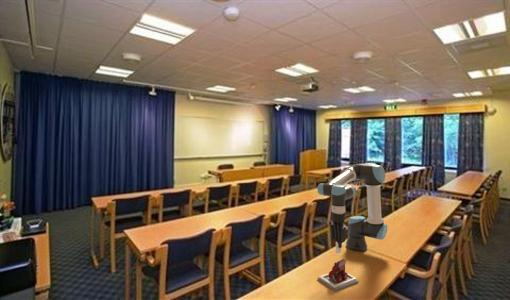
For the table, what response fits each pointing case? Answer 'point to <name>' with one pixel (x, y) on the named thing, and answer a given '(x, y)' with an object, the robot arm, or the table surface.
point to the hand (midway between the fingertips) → (338, 252)
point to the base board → (336, 285)
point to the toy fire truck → (338, 271)
